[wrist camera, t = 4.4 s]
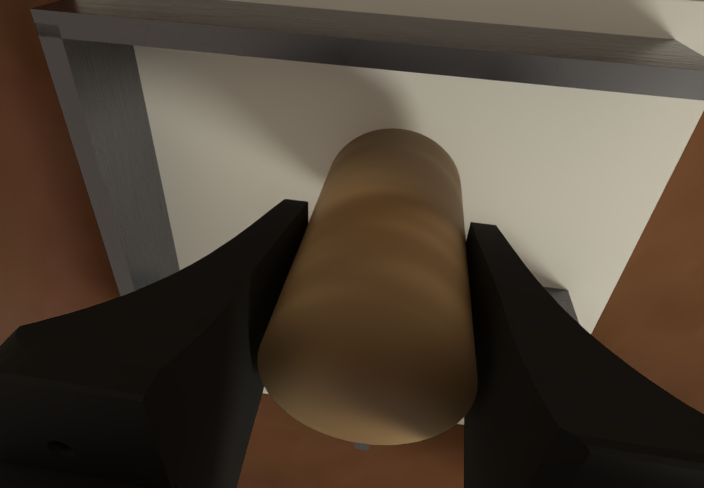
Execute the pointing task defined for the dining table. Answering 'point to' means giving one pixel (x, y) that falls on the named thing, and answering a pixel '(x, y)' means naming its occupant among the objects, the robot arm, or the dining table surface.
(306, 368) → the oak dowel
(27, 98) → the dining table surface
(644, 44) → the metal rails
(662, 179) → the track board
